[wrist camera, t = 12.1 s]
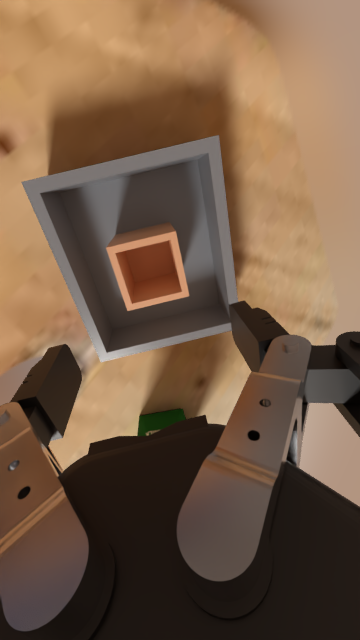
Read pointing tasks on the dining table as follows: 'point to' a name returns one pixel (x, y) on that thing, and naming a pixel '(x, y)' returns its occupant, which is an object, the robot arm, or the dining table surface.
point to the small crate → (148, 266)
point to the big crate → (132, 214)
